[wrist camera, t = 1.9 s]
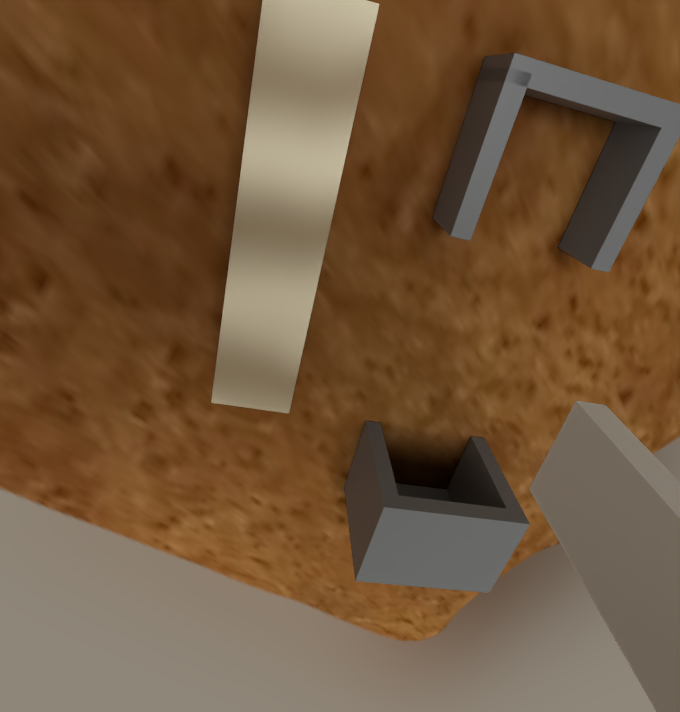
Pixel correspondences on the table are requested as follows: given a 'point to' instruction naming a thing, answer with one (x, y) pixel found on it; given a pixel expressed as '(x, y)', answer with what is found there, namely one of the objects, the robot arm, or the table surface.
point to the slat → (288, 191)
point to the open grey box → (431, 520)
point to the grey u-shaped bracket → (610, 176)
